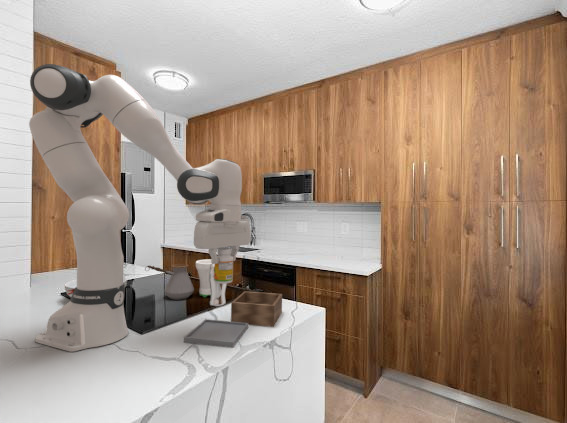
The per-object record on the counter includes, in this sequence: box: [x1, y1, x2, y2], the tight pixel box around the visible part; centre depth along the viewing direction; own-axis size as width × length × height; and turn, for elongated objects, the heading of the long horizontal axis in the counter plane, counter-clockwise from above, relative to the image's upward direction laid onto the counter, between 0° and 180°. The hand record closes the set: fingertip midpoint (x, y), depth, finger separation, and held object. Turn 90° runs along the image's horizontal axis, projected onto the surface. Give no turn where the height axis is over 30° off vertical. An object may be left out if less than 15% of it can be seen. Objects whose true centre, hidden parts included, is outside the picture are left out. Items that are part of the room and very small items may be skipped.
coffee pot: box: [144, 263, 195, 301], centre depth 120 cm, size 21×12×15 cm, turn 151°
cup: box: [195, 258, 212, 298], centre depth 128 cm, size 11×11×14 cm
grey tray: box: [183, 318, 249, 349], centre depth 88 cm, size 14×14×1 cm
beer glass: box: [209, 264, 228, 307], centre depth 117 cm, size 7×7×15 cm
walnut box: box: [230, 290, 283, 328], centre depth 103 cm, size 14×14×6 cm
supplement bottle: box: [214, 247, 234, 284], centre depth 90 cm, size 5×5×10 cm
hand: (223, 262), depth 90 cm, fingers closed on supplement bottle, 5 cm apart
